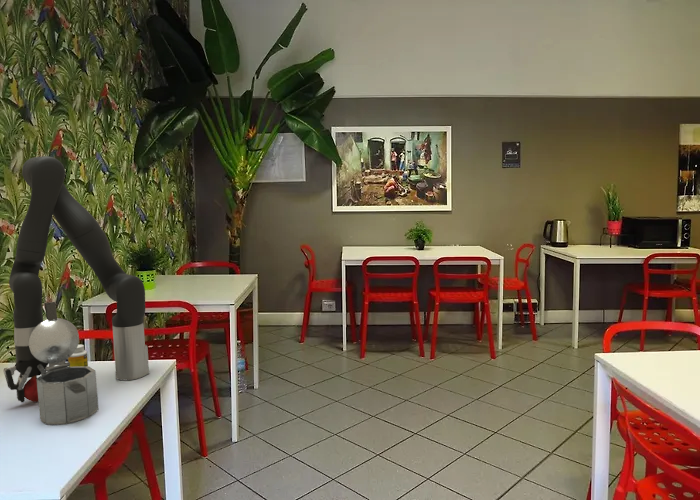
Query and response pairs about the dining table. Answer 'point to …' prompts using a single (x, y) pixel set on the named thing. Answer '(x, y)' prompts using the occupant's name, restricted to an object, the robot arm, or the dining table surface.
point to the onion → (31, 389)
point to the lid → (53, 339)
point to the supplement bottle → (78, 357)
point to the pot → (67, 395)
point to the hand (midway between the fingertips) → (35, 398)
